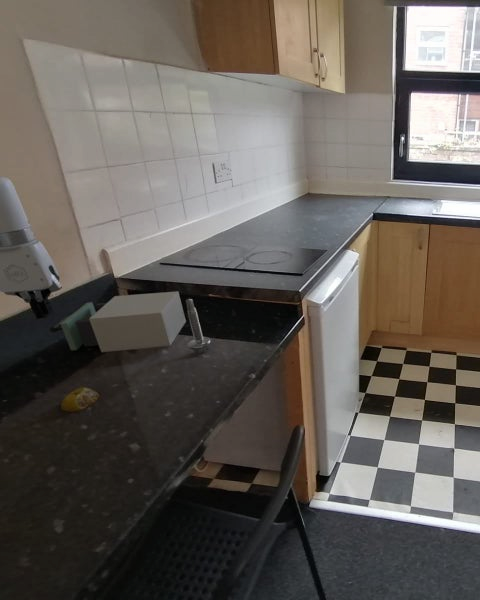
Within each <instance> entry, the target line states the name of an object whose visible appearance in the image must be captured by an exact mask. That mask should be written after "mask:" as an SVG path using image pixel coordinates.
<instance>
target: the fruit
mask: <svg viewBox="0 0 480 600" xmlns="http://www.w3.org/2000/svg"><path fill="white" fill-rule="evenodd" d="M99 398H100V394H99V392H97V391H96V390H94V389H91V388H88V387H85V386H83V387H79V388H76V389H75V390H73V391H71V392H70V393H68V394H67V395H66V396H65V397H64V398H63V400H62V401H61V404H60V410H62V411H65V412H79V411H82V410H84V409H85V408H88V407H89V406H91V405H93V404H94V403H96V402H97V400H98V399H99Z"/></svg>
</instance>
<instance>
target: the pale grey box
mask: <svg viewBox="0 0 480 600" xmlns="http://www.w3.org/2000/svg"><path fill="white" fill-rule="evenodd" d="M181 300H182V299H181V297H180V292H179V290H178V291H166V292H153V293H139V294H127V295H126V294H125V295H115V296H113V297H112V298H111V299H110V300H109V301H108V302H106V303H107V304H106V305H104V306H103V307H102V308H101V309H100V310H99V311H98V310H97V311H96V313H95V314H94V315H93V316H92V317H91V318H90V319H89V320H90V323H91V325H92V328H93V331H94V333H95V336H96V339H97V342H98V344H99V345H98V347H99V349H100V352H101V353H109V352H110V353H111V352H119V351H129V350H140V349H148V348H149V349H150V348H151V349H152V348H160V347H161V348H163V347H170V346H172V344H173V342H174V341H175V340H176V338H177V336H178V335H179V334H180V332H181V331H182V328H183V327H184V325H185V324H186V322H187V320H186V317H185V316H186V315H185V312H184V309H183V308H184V307H183V304H182V301H181Z"/></svg>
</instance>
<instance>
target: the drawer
mask: <svg viewBox="0 0 480 600" xmlns="http://www.w3.org/2000/svg"><path fill="white" fill-rule="evenodd" d="M107 303H108V302H101V303H96V304H95V306H94V303H93V302H92V301H90V302H86V303H84V304H83V305H82V306H81V307H80V308H78V309H77V310H76V311H74V312H73V313H72V314H71V315H65V316H64V317H62V318H60V319H59V320H58V321H57V322H56V323H54V324H53V325H52V326H51V327H49V332H51V333H57V332H58V331H62V333H63V334H64V337H65V340H66V342H67V344H68V346H69V349H70V351H77V350H79V349H80V348H81V347H82V346H83V347H96V346H99V344H98V342H97V339H96V336H95V333H94V331H93V328H92V325H91V323H90V320H89V319H90V318H91V317H92V316H93V315H94V314H95V313H96V312H98V311H99V310H100V309H101V308H102V307H103V306H104V305H106V304H107ZM95 307H96V309H95ZM96 310H97V311H96Z"/></svg>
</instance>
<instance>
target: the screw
mask: <svg viewBox="0 0 480 600" xmlns="http://www.w3.org/2000/svg"><path fill="white" fill-rule="evenodd" d="M185 303H186V307H187V311H186V312H187V318H188V320H189V321H188V322H189V325H190V327H191V328H190V329H191V332H192V336H193V339H191V340H190V341H189V342H188V343H187V347H188V348H189V349H190V350H193V351H194V353H196V354H202V353H206V351H207V350H208V349H209V346H210V345H211V343H212V339H211V338H210V337H208V336H203V332H202V327H201V324H200V322H199V321H200V320H199V315H198V312H197V309H196V307H195V304H194V300H193V299H192V298H187V299H186V300H185Z"/></svg>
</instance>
